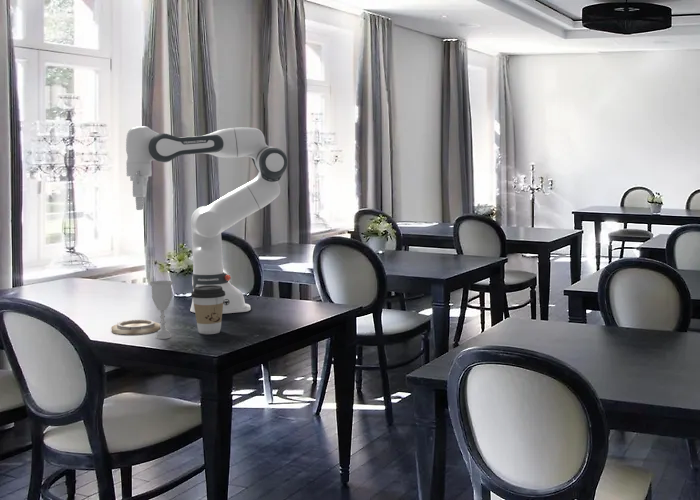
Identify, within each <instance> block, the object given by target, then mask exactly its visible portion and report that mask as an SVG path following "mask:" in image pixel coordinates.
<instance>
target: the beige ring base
mask: <svg viewBox="0 0 700 500" xmlns="http://www.w3.org/2000/svg"><path fill="white" fill-rule="evenodd" d="M160 329H161V323H160V322H156V321H154V320H151V319H142V318H141V319H130V320H123V321H120V322H117V323H116V324H114V325H112V326H111V333H113V334H115V333H116V335H121V334H127V335H126V336H129V335H131V336H135V335H136V336H137V335H147V334H151V333H155V332H158V330H160Z"/></svg>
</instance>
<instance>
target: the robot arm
mask: <svg viewBox="0 0 700 500" xmlns="http://www.w3.org/2000/svg"><path fill="white" fill-rule="evenodd" d="M125 151H126V156H127V157H126V158H127V159H126V166H125V167H126V177H129V179H130V181H131V182H132V197H134V198H135V206H136V207H135V210H137V211H141V210H144V198H146V197H147V190H148V181H149V177H152V176H153V175H152V173H153V171H152V168H153V167H152V166H153V165H152V161H156V162H159V163H169V162H172V160H174V159H176V158H178V157H180V156H186V155H197V154H198V155H201V154H206V155H211V156H214V157H216V158H223V159H234V158H235V159H236V158H246V157H247V158H251V160H252V162H253V165H254V167H255V169H256V170H257V175H256V176H255V177H254V178H253V179H252V180H250V181H248V182H246V183H245V184H242V185H241V186H239V187H237V188H235V189H233V190H231V191H229V192H227V193H226V194H225V195H223V196H221V197H220V198H219V199H217V200H215V201H213V202H212V203H210V204H208V205H203V206H202V205H201V206H199V207H198V208H196V209H195V210H194V211H193V213H192V214H191V219H190V224H191V225H190V226H191V228H190V229H191V243H192V245H191V246H192V247H191V248H192V265H193V266H192V268H193V269H192V270H193V271H192V275H191V283H192V284H191V285H192V288H193V290H192V292H193V291H194V288H195V287H198V286H205V285H216V286H221V287H222V289H223V291H225V296H224V301H223V311H222V315H223V314H232V313H233V314H234V313H246V312H249V311H251V309H252V308H251V305H250V304H249V303H246V302H245V297H244V294H243V292H242V291H241V290H240V289H239V288H237V287H236V286H234V285H233V284H232V283H230V282H229V281H230V280H231V275H229V274H228V273H226V272H224V258H223V256H224V253H223V242H222V241H223V240H222V239H223V238H222V233H223V232H224V231H226V230H228V229H229V228H231V227H233V226H234V225H236V224H238V223H239V222H240V221H242V220H244V219H245V218H248V217H249V216H251V215H253V214H254V213H256V212H258V211H259V210H262V209H263V208H265V207H266V206H268V205H269V204H271V203H272V202H273V201H274V200H275V199H277V198H278V197H279V196H280V194H281V185H280V183H279V181H280V180H281V178H282V176H283V175H284V173H285V172H286V171H287V167H288V164H289V162H288V157H287V155H286V153H285V151H283V150H282V149H280V148H278V147H275V146H270V145H267V142H266V137H265V135H264V133H263V132H262V130H260V129H259V128H256V127H247V126H244V127H243V126H242V127H241V126H240V127H239V126H238V127H228V128H223V129H218V130H215V131H213V132H211V133H207V134H204V135H194V136H185V137H184V136H183V137H181V136H174V135H172V134H169V133H163V132H162V133H159V132H156V130H155V131H154V130H153V129H151V128H150V127H149V126H146V125H143V126H142V125H141V126H136V127H135V126H134V127H132V128H130V129H129V130H128V132H127V133H126V142H125ZM189 310H190V312H192V313H195V308H194V302H193V299H191V306H190V309H189Z"/></svg>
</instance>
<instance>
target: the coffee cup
mask: <svg viewBox="0 0 700 500" xmlns="http://www.w3.org/2000/svg"><path fill="white" fill-rule="evenodd" d="M190 294H191V297H192V300H193V302H194V308H195V314H194V315H195V319H196V326H197V331H198V333H199V334H200V335H214V334H215V335H216V334H219V333H220V332H221V329H222V319H223V314H222V311H223V301H224V296H225V291H223V289H222V287H221V286H216V285H205V286H198V287H195V288H194V291H193V290H192V292H191V293H190Z"/></svg>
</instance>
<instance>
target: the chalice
mask: <svg viewBox="0 0 700 500" xmlns="http://www.w3.org/2000/svg"><path fill="white" fill-rule="evenodd" d="M173 283H174V282H173V281H172V280H154V281H150V282H149V284H150V285H151V298H152V302H153V303H154V305H155V307H156V309H157V311H160V316H159V317H160V322H159V324H160V330H158V331H157V333H156V336H155V339H159V340H163V339H164V340H165V339H170V338H172V335H171V333H170V331H169V330H168V329H166V327H165V325H166V321H165V318H166V315H165V311H167V310H168V308H169V306H170V303H171V300H172V295H173V294H172V293H173V292H172V286H173Z"/></svg>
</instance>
